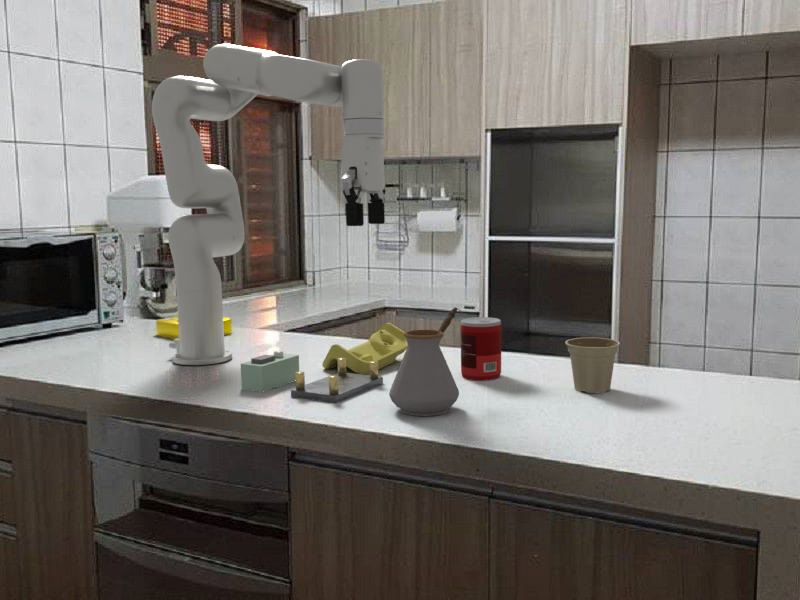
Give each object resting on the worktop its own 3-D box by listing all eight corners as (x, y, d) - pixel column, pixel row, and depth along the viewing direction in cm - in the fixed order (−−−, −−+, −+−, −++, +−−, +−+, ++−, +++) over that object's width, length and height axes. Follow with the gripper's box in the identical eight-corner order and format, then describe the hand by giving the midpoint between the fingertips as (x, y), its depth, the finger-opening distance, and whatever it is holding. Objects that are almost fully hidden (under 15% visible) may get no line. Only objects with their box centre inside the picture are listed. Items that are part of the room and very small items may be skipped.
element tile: (235, 334, 207) (234, 316, 206) (184, 343, 196) (183, 324, 195) (203, 328, 217) (202, 311, 216) (153, 336, 206) (152, 318, 205)
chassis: (291, 396, 140) (290, 373, 139) (340, 378, 153) (340, 356, 153) (335, 402, 135) (335, 378, 135) (383, 383, 148) (382, 361, 148)
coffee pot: (443, 422, 122) (442, 327, 120) (377, 415, 127) (375, 323, 125) (488, 390, 141) (487, 308, 139) (428, 385, 146) (427, 305, 144)
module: (241, 390, 146) (240, 358, 145) (279, 377, 155) (278, 347, 155) (262, 393, 144) (261, 360, 143) (299, 380, 153) (298, 350, 152)
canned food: (506, 373, 155) (506, 318, 153) (493, 382, 148) (493, 324, 146) (469, 370, 158) (469, 316, 156) (455, 379, 151) (454, 322, 149)
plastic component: (367, 365, 154) (328, 339, 158) (356, 396, 157) (318, 370, 161) (419, 341, 170) (383, 318, 174) (408, 369, 173) (373, 346, 177)
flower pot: (589, 399, 135) (589, 349, 134) (554, 387, 143) (554, 340, 142) (630, 391, 139) (631, 343, 138) (594, 381, 147) (595, 335, 146)
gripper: (364, 134, 153) (366, 223, 156) (323, 128, 137) (326, 227, 140) (400, 132, 151) (402, 222, 153) (362, 126, 135) (365, 226, 137)
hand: (366, 224), depth 146 cm, fingers open, 9 cm apart
